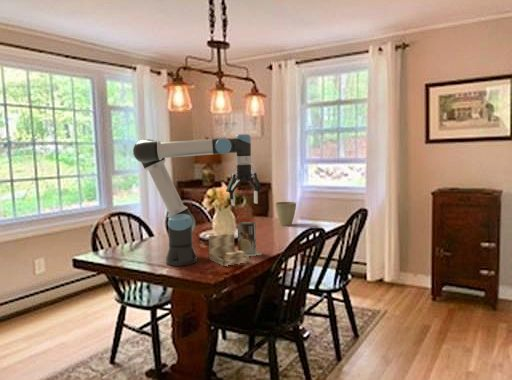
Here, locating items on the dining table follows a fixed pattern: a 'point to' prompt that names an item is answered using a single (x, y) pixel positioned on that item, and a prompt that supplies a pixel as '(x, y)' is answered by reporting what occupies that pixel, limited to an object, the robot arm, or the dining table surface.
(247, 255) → the felt mat
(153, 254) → the dining table surface
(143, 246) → the dining table surface
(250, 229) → the coffee box
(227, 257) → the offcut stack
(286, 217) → the plant pot
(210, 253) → the rack
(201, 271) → the dining table surface
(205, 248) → the dining table surface
